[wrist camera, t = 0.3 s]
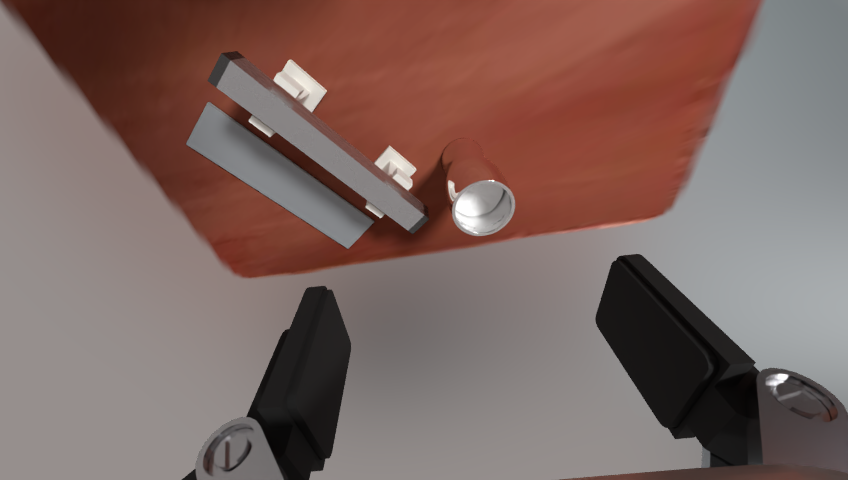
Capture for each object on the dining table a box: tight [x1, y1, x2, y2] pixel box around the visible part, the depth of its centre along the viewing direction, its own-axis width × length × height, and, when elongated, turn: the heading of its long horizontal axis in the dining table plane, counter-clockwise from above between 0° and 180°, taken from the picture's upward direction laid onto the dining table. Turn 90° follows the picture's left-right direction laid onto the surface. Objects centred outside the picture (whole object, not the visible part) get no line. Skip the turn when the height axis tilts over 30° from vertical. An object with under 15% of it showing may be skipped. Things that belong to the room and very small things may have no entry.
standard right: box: [366, 145, 416, 218], centre depth 41 cm, size 5×6×9 cm
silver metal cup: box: [442, 138, 515, 236], centre depth 38 cm, size 7×7×15 cm
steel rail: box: [208, 51, 429, 234], centre depth 35 cm, size 26×3×3 cm, turn 47°
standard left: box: [249, 59, 327, 137], centre depth 35 cm, size 5×6×9 cm
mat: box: [186, 102, 374, 249], centre depth 45 cm, size 26×7×1 cm, turn 47°
